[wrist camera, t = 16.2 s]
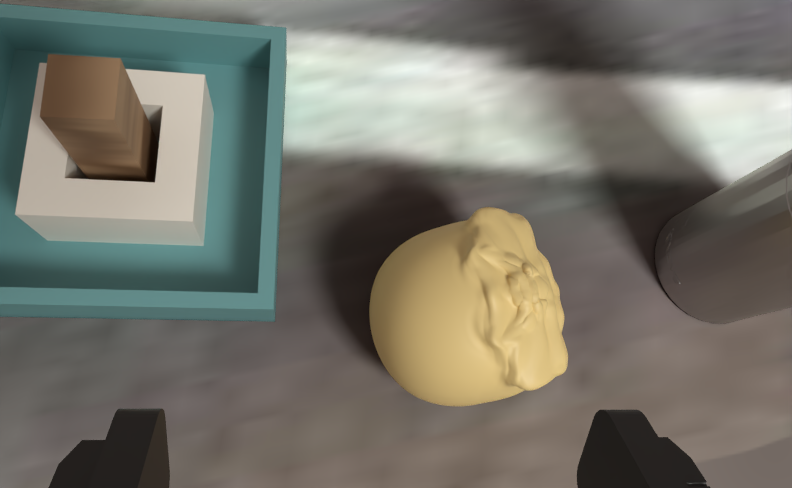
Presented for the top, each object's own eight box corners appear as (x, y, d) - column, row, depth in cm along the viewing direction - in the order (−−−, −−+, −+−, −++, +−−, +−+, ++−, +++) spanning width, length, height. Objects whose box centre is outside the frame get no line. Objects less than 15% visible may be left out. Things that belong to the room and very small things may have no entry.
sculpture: (546, 386, 47) (618, 373, 36) (382, 426, 44) (410, 423, 34) (504, 234, 49) (560, 182, 39) (347, 263, 47) (364, 215, 37)
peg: (162, 151, 46) (120, 58, 35) (158, 199, 45) (114, 120, 34) (107, 148, 46) (48, 54, 34) (102, 197, 45) (39, 116, 33)
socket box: (286, 62, 50) (286, 14, 45) (274, 321, 45) (273, 304, 39) (5, 40, 47) (-34, -14, 42) (-45, 315, 42) (-97, 296, 36)
